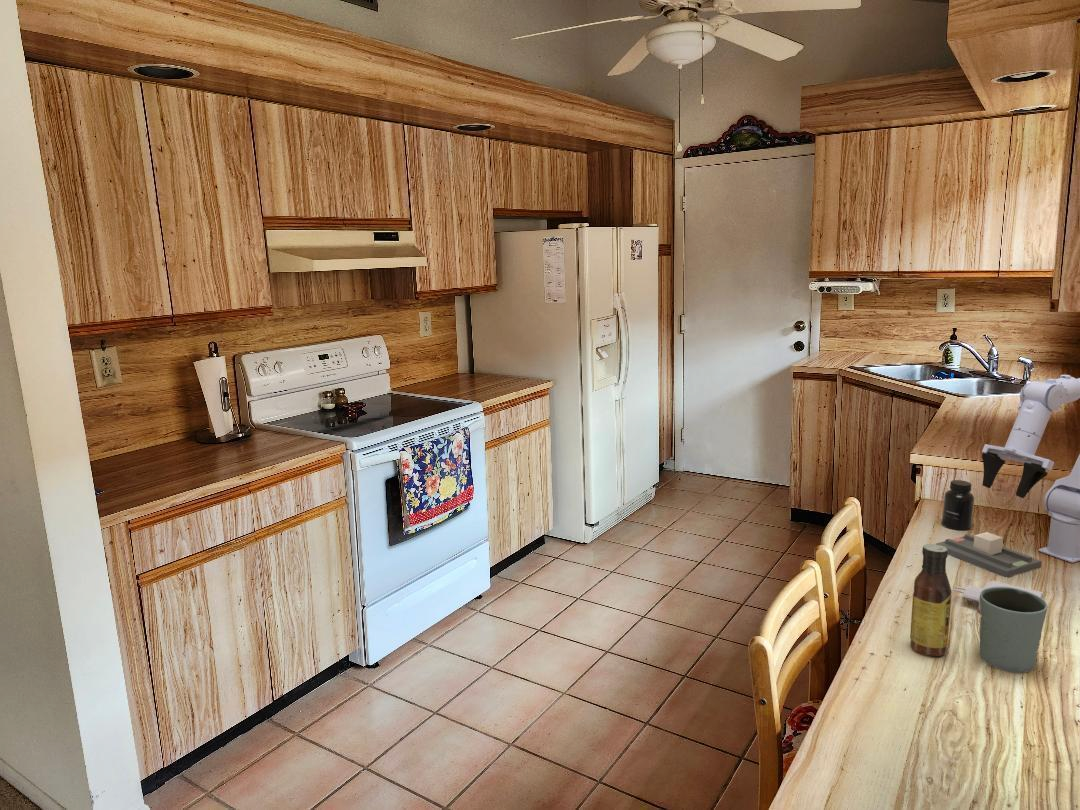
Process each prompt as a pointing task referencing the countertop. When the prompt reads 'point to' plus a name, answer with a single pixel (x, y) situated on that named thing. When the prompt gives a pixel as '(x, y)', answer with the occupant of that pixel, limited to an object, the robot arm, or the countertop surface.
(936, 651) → the sauce bottle
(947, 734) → the countertop surface
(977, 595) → the charger
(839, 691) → the countertop surface
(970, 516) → the supplement bottle
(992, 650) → the grey cup
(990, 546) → the slider knob
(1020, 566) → the switch track
